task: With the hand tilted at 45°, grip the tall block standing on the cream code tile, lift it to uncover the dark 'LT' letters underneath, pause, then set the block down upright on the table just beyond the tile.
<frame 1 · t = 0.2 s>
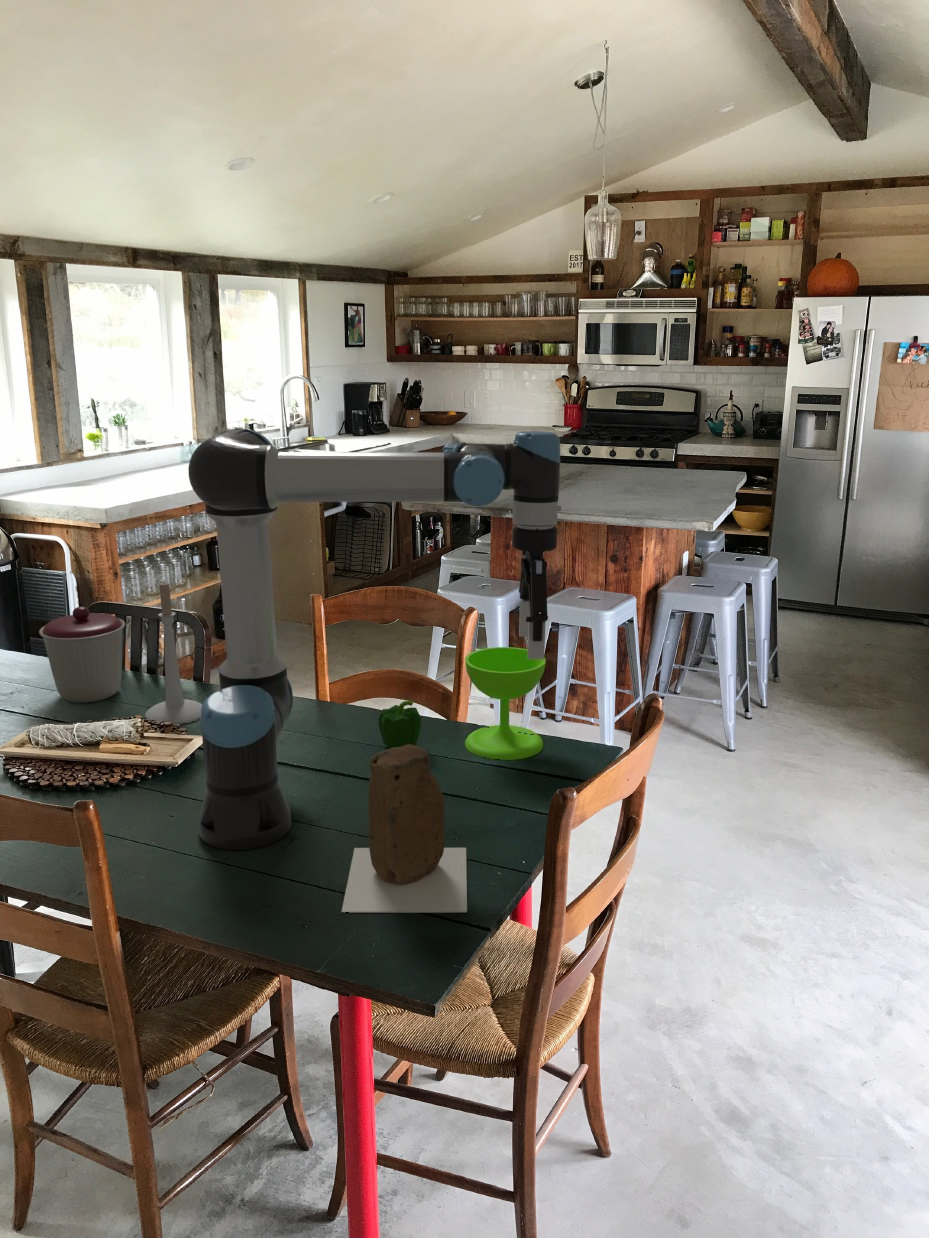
hand: (531, 647, 168), 28 cm above the table, tool pointing down, fingers open, 13 cm apart
code tile: (407, 878, 148), on the table
wineglass: (504, 744, 197), on the table
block: (408, 871, 150), resting on code tile
canister: (90, 696, 224), on the table
bell pepper: (400, 748, 195), on the table
candlestick: (176, 715, 212), on the table
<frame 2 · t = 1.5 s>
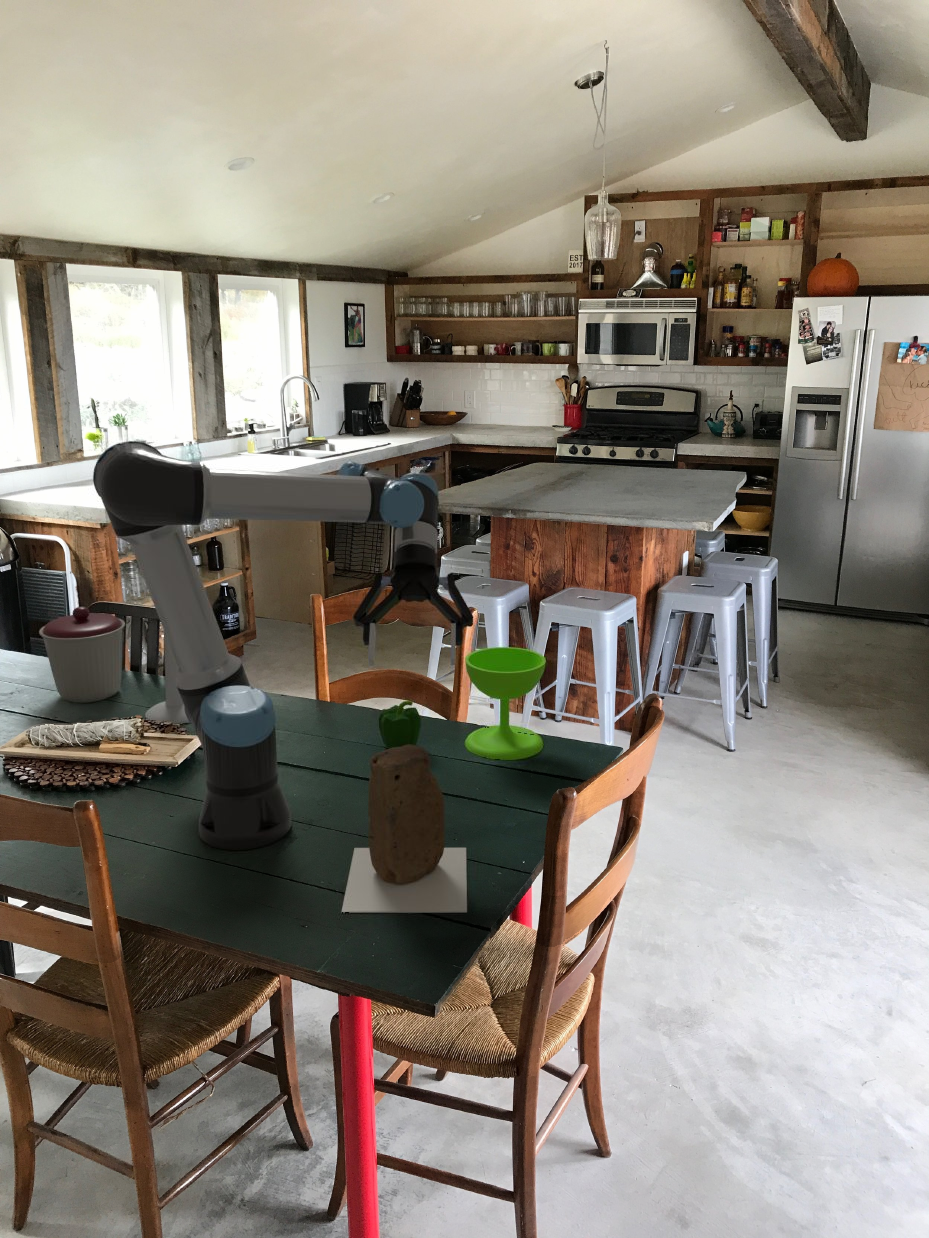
hand: (412, 661, 161), 28 cm above the table, tool tilted 45°, fingers open, 13 cm apart
nothing on the table moved.
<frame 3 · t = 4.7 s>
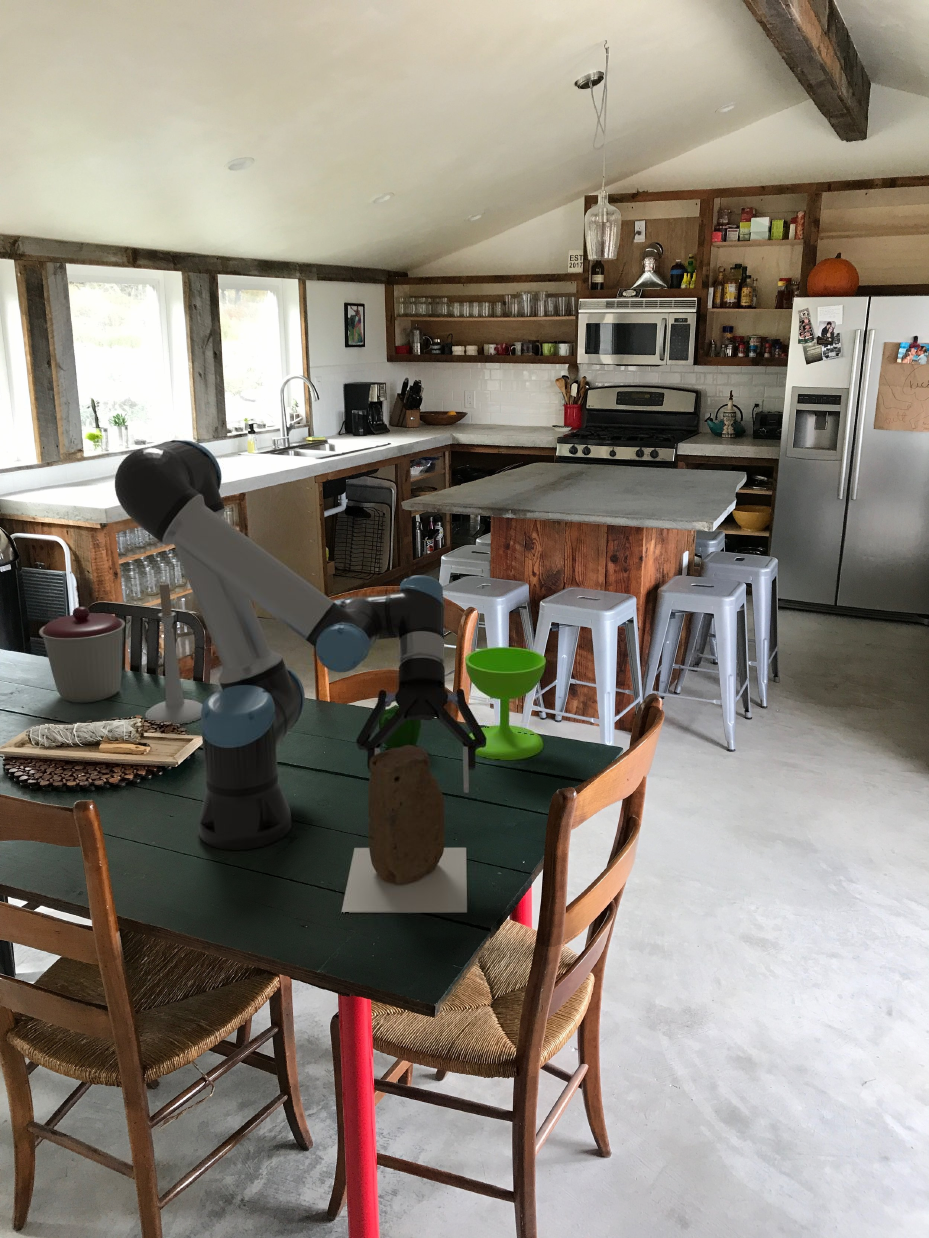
hand: (421, 791, 149), 13 cm above the table, tool tilted 45°, fingers open, 13 cm apart
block: (408, 871, 150), resting on code tile, touching gripper
everything else where it was.
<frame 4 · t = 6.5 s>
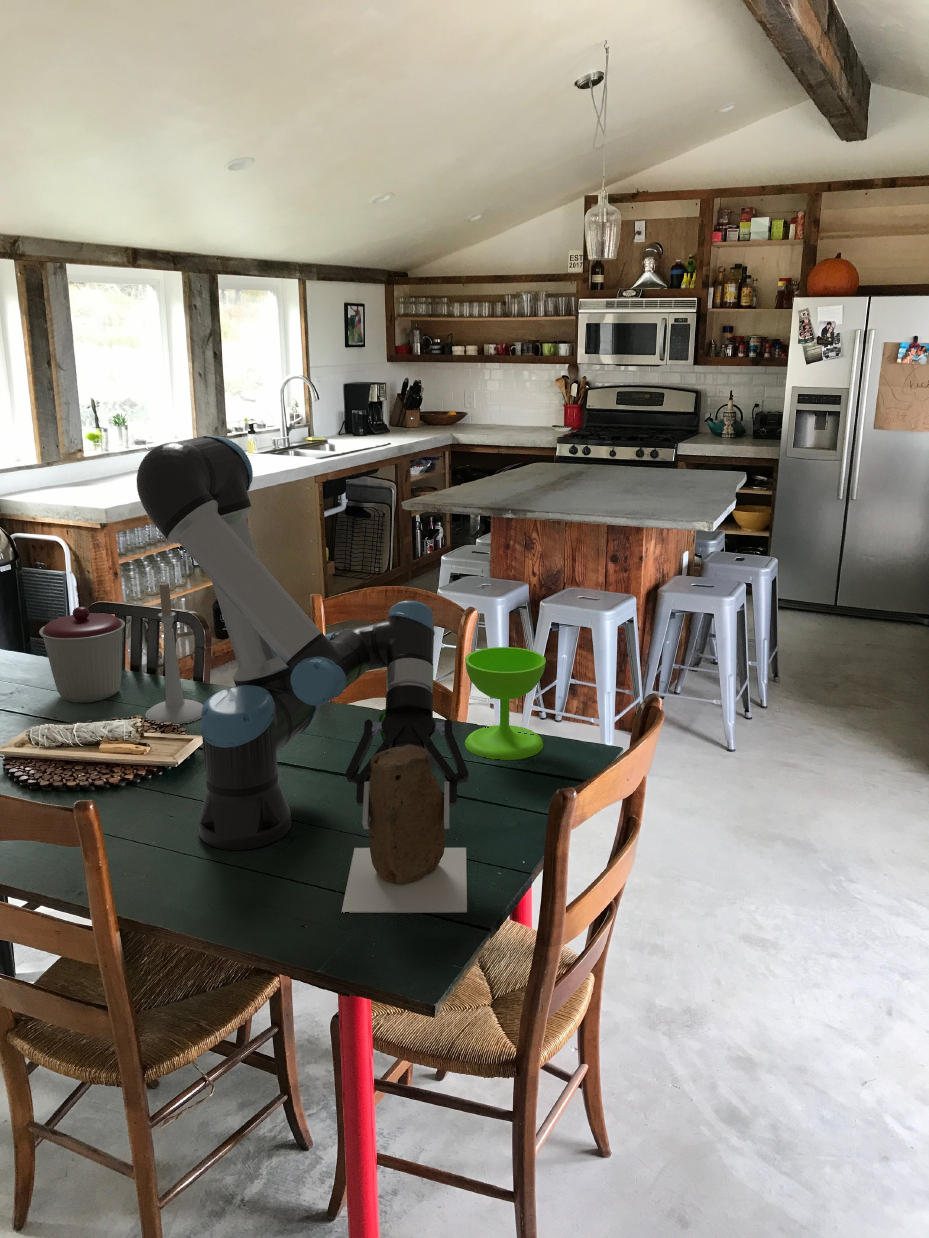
hand: (406, 826, 145), 9 cm above the table, tool tilted 45°, fingers closed on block, 11 cm apart
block: (408, 871, 150), resting on code tile, touching gripper
everything else where it was.
when the fingers open (11 cm above the table, at t = 14.9 s): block drops 2 cm, on the table.
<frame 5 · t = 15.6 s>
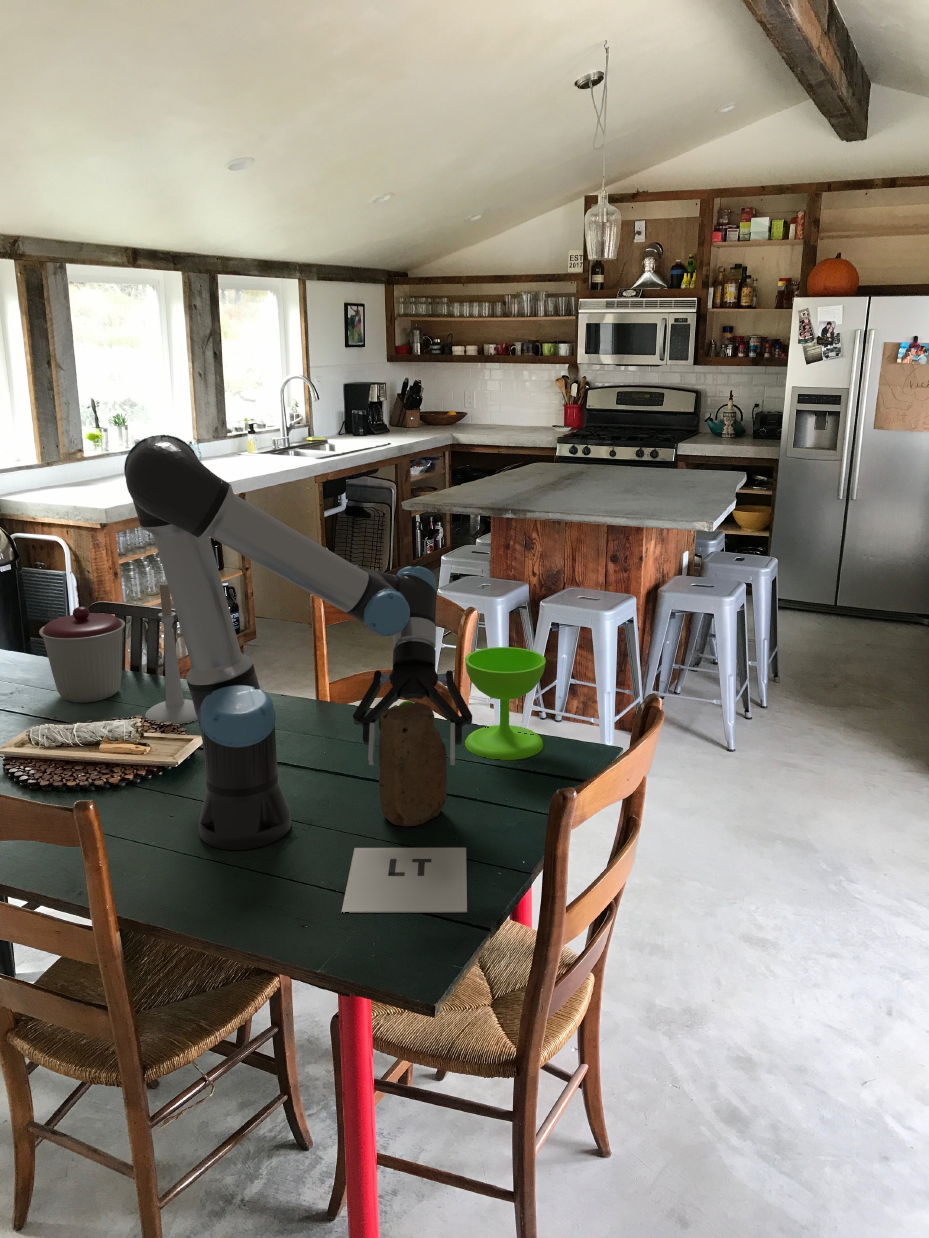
hand: (411, 762, 162), 11 cm above the table, tool tilted 45°, fingers open, 13 cm apart
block: (414, 817, 168), on the table
everything else where it was.
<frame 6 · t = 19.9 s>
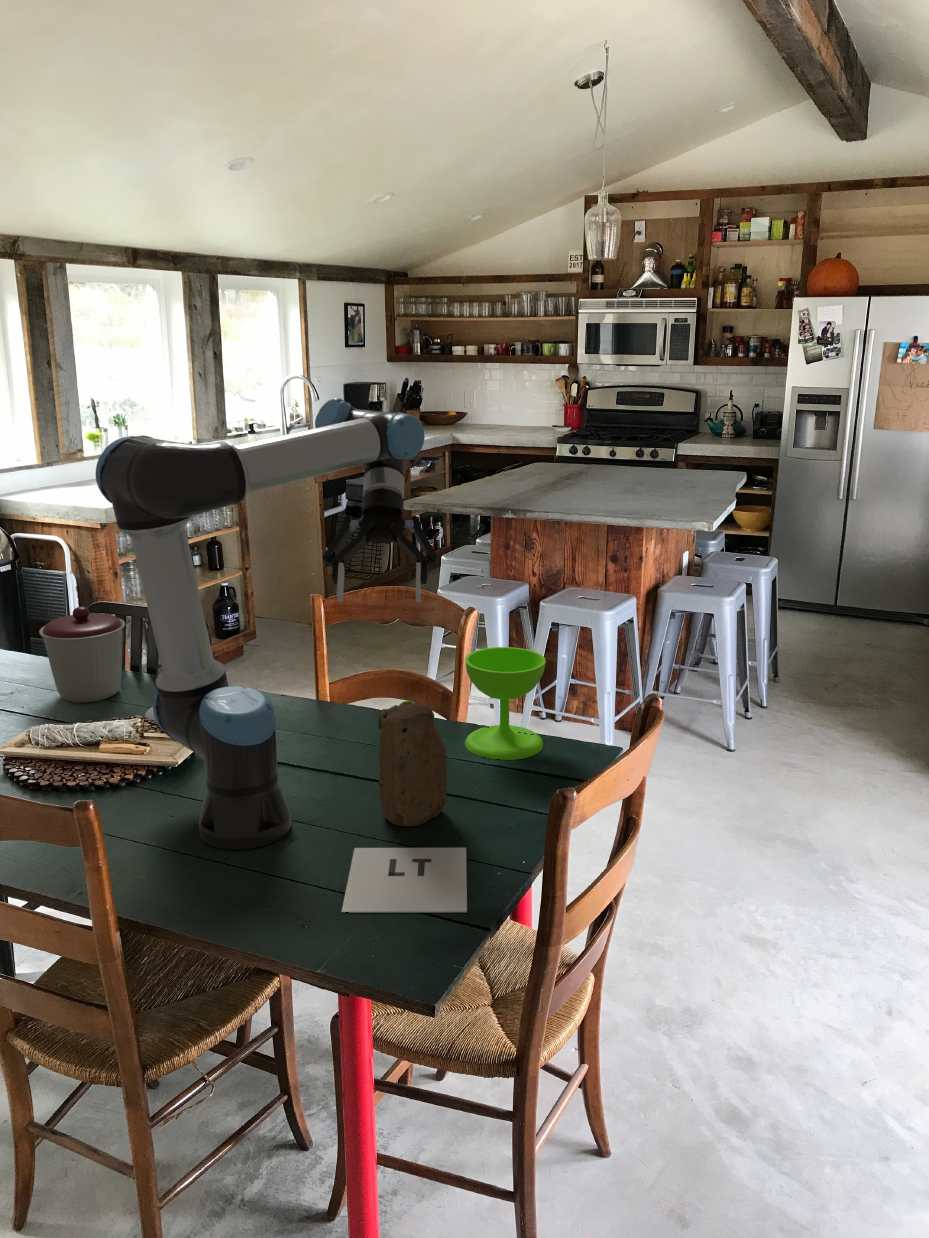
hand: (378, 598, 169), 36 cm above the table, tool tilted 45°, fingers open, 13 cm apart
nothing on the table moved.
at the end: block inside the target area (0.1 cm from its centre), on the table; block tilted 0°; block touching table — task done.
